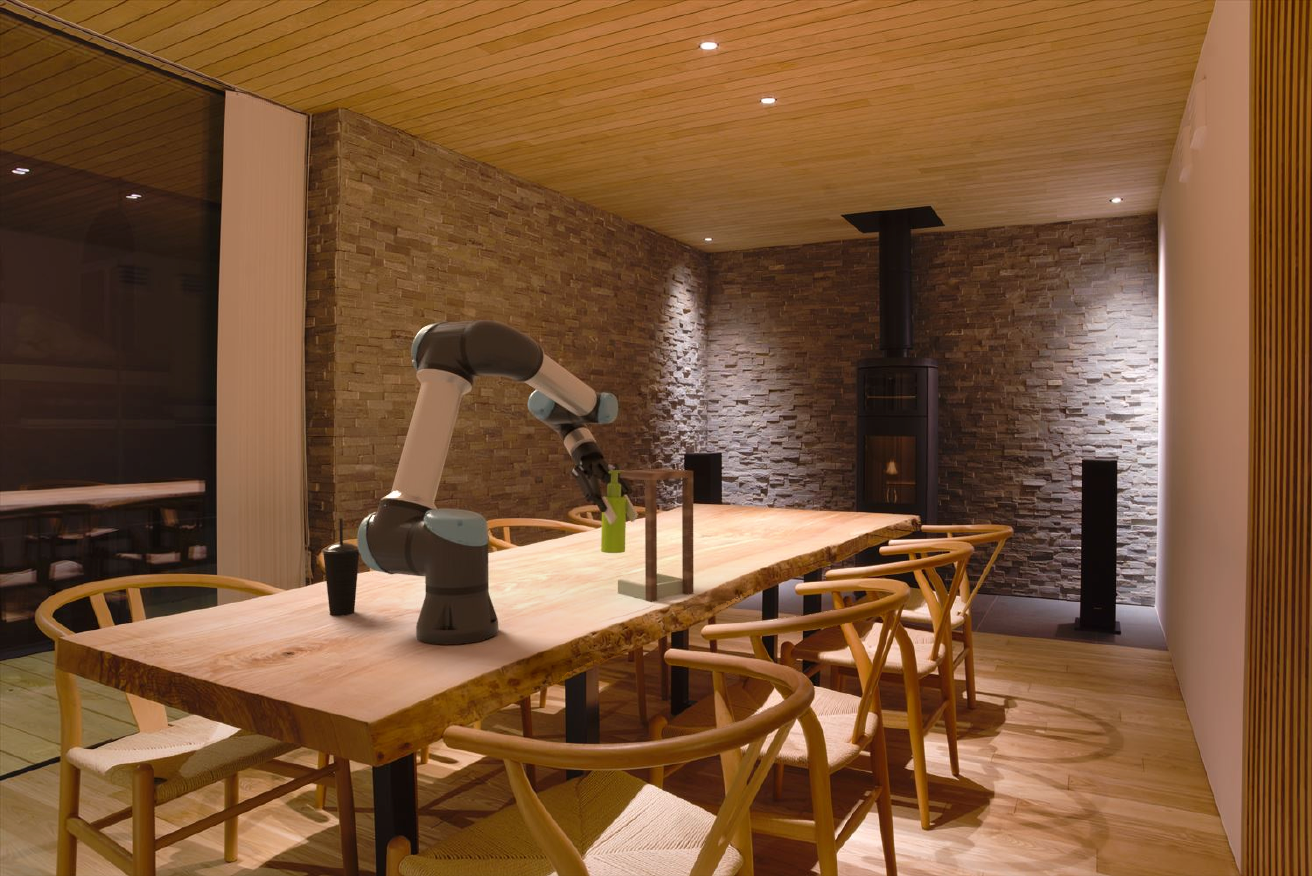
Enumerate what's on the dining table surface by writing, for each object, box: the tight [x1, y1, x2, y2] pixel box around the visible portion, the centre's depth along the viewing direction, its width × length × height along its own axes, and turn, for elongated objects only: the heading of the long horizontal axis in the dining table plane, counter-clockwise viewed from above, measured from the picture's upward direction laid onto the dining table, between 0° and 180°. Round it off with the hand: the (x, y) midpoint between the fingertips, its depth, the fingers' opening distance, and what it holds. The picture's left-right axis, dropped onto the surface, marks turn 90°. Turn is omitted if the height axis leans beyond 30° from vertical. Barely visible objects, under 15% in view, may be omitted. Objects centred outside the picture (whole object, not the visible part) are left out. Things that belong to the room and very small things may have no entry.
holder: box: [617, 573, 683, 601], centre depth 197 cm, size 12×10×3 cm
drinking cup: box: [321, 517, 360, 617], centre depth 177 cm, size 8×8×20 cm
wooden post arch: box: [620, 468, 694, 603], centre depth 195 cm, size 13×11×28 cm
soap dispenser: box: [600, 469, 627, 554], centre depth 208 cm, size 6×7×20 cm
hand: (624, 519), depth 205 cm, fingers closed on soap dispenser, 6 cm apart
